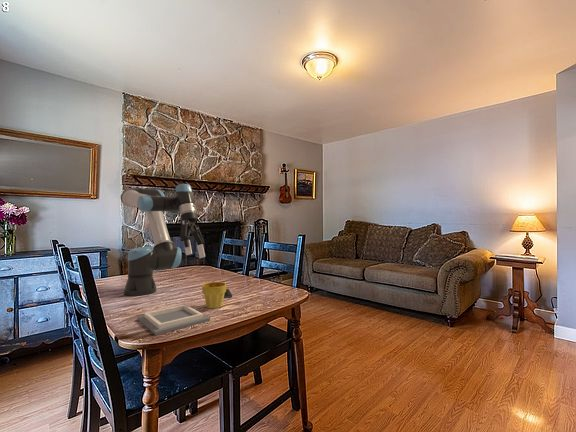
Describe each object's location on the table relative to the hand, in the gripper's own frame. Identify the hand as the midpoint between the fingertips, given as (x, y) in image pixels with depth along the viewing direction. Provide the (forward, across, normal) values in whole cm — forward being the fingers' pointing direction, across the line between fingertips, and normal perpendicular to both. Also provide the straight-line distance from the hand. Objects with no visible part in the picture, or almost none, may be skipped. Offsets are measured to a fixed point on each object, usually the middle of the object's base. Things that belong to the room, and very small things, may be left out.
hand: (196, 256), depth 137 cm
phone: (+19, +19, -2) cm, 27 cm away
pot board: (+26, -19, +5) cm, 33 cm away
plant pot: (+25, 0, -4) cm, 25 cm away
